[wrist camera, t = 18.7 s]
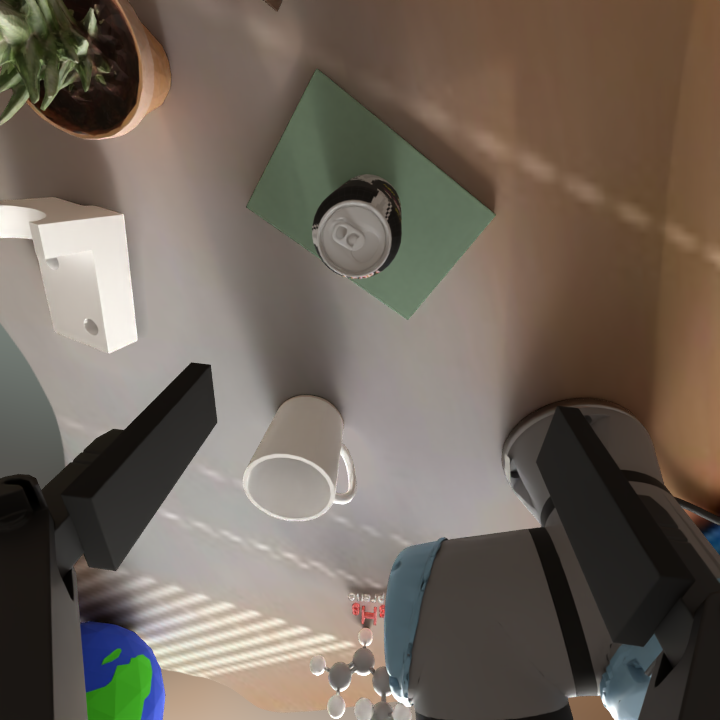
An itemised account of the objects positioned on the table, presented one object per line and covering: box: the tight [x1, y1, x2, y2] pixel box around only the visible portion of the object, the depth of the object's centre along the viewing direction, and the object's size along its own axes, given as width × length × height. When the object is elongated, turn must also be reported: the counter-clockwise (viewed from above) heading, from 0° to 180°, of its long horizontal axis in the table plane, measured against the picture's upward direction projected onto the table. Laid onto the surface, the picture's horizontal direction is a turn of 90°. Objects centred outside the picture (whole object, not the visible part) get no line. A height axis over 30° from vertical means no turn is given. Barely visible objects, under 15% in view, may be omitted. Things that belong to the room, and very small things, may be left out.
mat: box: [246, 69, 496, 320], centre depth 34 cm, size 18×12×1 cm, turn 55°
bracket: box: [0, 197, 138, 354], centre depth 37 cm, size 13×7×8 cm, turn 170°
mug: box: [243, 395, 357, 521], centre depth 42 cm, size 11×9×10 cm
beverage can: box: [312, 174, 402, 279], centre depth 29 cm, size 6×6×12 cm
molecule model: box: [310, 593, 412, 720], centre depth 59 cm, size 20×16×16 cm
